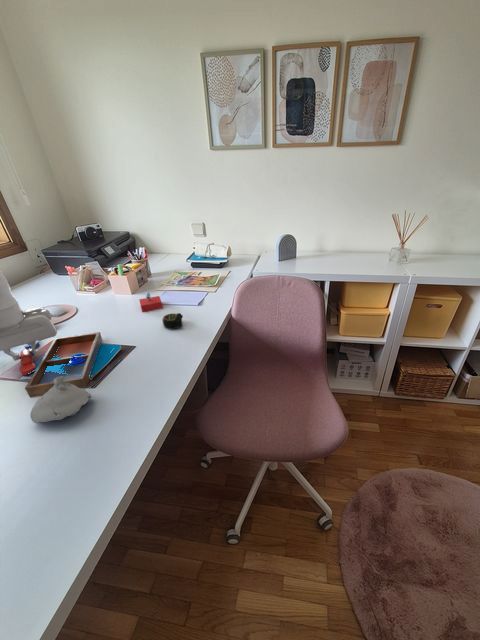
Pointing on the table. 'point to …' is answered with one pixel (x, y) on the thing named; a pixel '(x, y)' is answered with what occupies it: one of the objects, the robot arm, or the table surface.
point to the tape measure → (172, 320)
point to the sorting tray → (66, 349)
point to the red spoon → (26, 362)
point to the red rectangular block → (150, 303)
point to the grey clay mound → (59, 402)
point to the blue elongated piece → (27, 346)
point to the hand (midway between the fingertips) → (25, 356)
